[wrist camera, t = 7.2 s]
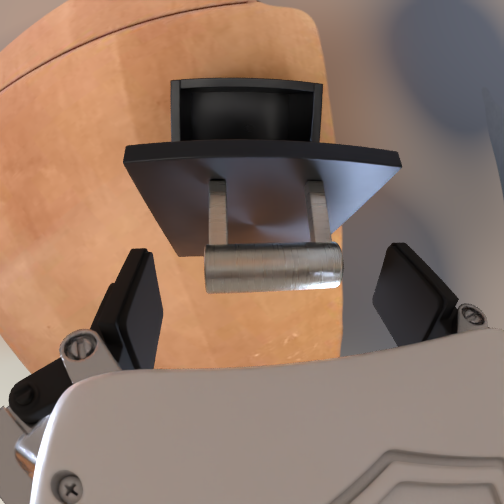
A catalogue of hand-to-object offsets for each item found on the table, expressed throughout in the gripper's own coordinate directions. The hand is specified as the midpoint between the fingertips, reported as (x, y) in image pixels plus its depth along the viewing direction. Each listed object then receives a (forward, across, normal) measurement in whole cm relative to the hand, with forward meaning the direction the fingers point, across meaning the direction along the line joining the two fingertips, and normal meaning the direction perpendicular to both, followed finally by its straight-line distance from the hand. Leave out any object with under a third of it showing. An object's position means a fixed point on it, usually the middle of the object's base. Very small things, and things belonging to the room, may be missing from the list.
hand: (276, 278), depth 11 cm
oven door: (+7, 0, 0) cm, 7 cm away
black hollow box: (+21, 0, -1) cm, 21 cm away
